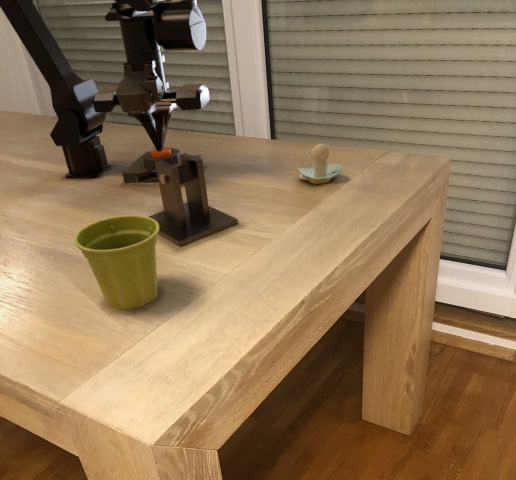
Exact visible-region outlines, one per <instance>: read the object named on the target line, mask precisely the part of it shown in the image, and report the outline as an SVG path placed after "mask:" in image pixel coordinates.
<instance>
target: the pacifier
mask: <svg viewBox="0 0 516 480" xmlns="http://www.w3.org/2000/svg"><path fill="white" fill-rule="evenodd" d="M329 156H330V149H329V146H328V145H327V144H325V143H318V144H316V145H315V146H314V147H313V148H312V149H311V152H310V158H311V160H312V162H313V167H306V168H305V167H304V168H302V167H301V168H298V170H297V171H298V173H299V174H298V179H300V180H302V181H306V182H307V181H308V182H309V183H310V184H314V185H315V184H319V185H320V184H324V183H328V182H330V181H331V179H333V178H335V177H338V176H339V175H340V173H341V172H342V171H343V163H340V162H339V163H338V162H337V163H330V164H327V163H328V161H327V160H328V158H329Z"/></svg>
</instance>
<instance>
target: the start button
mask: <svg viewBox="0 0 516 480" xmlns="http://www.w3.org/2000/svg"><path fill="white" fill-rule="evenodd" d="M170 148H171V147H168V146H164V147H163V150H162V151H157V150H156V148H155V147H154V148H153V149H150V150H149V151H150V153H151V157H153V158H162V157H167V156H169V155H172V154H171V149H170Z"/></svg>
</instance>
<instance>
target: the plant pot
mask: <svg viewBox="0 0 516 480" xmlns="http://www.w3.org/2000/svg"><path fill="white" fill-rule="evenodd" d="M158 232H159V224H158V222H157V221H156V220H154V219H152V218H150V217H149V216H145V215H138V214H126V215H123V214H122V215H115V216H110V217H106V218H102V219H99V220H97V221H93V222H91V223H89V224H86V225H85V226H83V227H81V228H80V229H79V230H78V231H77V232H76V233H74V236H73V243H74V245H75V246H76V248H77V249H79V250H80V251H81V253H82V255H83V257H84V258H85V259H86V260H87V262H88V264H89V266H90V268H91V271H92V273H93V275H94V278H95V280H96V281H97V284H98V286H99V289H100V291H101V293H102V296H103V298H104V300H105V301H106V304H107V305H108V306H110V307H112V308H113V309H117V310H132V309H133V310H134V309H137V308H140V307H144V306H146V305H147V304H148V303H151V302H153V301H154V300H155V299H156V297H157V295H158V292H159V291H158V274H157V273H158V272H157V255H156V253H157V251H156V245H157V241H158V237H157V236H158Z"/></svg>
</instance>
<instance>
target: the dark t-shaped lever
mask: <svg viewBox="0 0 516 480" xmlns="http://www.w3.org/2000/svg"><path fill="white" fill-rule="evenodd" d="M173 166H176V167H177V168H178V174H179V180H180V185H184V183H186V182H189V181H192V180H194V177H193V173H192V169H191V166H190V163H178V164H175V165H173ZM134 178H135V181H136V182H137V183H136V184H142V183H141V182H144V181H147V180H150V179H154V178H158V175H157V170H156V168H155V169H151V170H148V171H145V172H142V173H139V174H135V175H134Z"/></svg>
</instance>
